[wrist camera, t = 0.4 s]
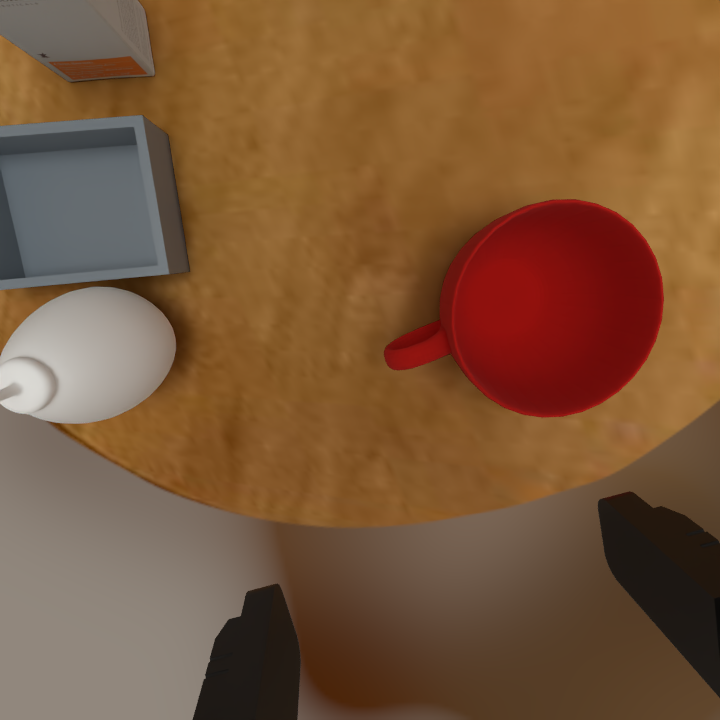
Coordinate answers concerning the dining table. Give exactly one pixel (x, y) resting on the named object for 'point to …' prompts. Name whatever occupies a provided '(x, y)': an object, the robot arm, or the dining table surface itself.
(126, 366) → the sauce bottle
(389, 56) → the dining table surface
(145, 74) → the skincare box
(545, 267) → the ceramic cup
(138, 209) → the bin
